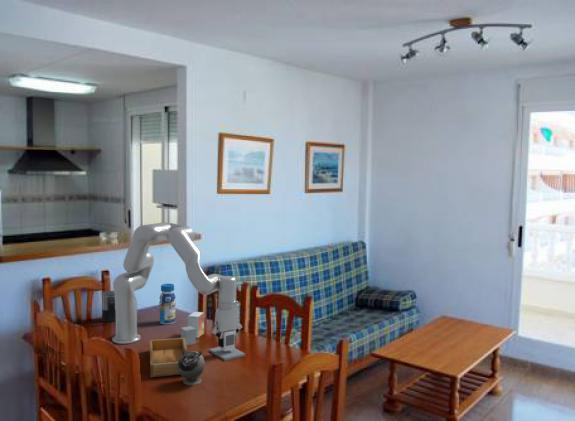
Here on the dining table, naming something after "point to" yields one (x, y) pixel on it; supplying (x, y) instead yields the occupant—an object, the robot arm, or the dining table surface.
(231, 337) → the label box
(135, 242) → the robot arm
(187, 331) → the grey block
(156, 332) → the dining table surface
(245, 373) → the dining table surface
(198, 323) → the small box
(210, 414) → the dining table surface
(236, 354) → the grey mat
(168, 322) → the beverage bottle
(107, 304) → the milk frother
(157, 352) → the tray
